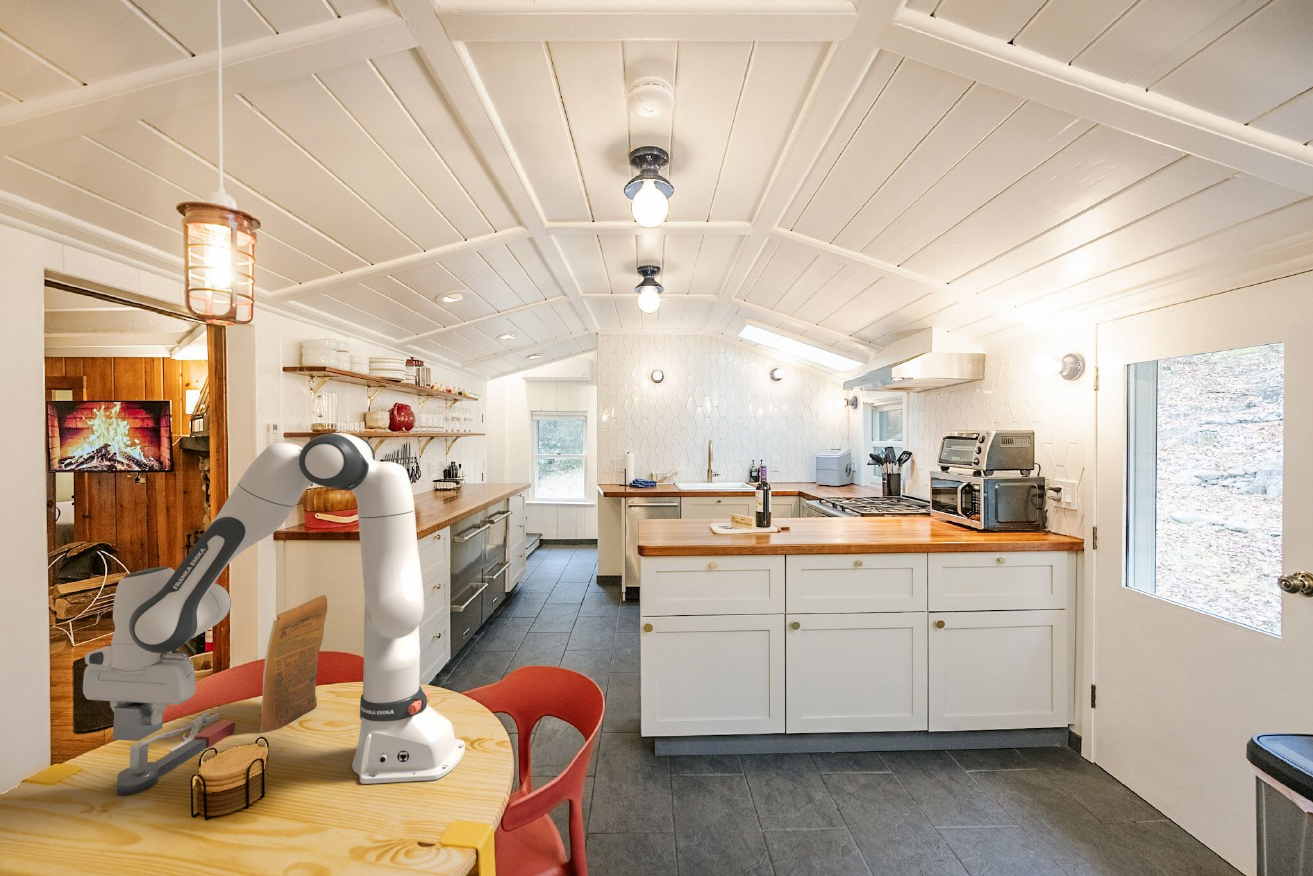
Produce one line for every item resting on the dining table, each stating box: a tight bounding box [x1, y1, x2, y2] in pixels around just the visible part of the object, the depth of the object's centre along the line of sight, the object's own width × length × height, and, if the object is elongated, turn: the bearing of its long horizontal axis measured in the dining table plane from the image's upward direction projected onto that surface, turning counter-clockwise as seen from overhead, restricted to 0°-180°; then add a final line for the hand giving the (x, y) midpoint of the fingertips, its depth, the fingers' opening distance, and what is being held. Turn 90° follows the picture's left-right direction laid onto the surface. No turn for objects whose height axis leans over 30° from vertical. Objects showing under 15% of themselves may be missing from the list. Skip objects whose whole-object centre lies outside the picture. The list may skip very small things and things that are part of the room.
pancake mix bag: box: [259, 594, 328, 733], centre depth 137 cm, size 7×19×28 cm, turn 169°
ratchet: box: [116, 720, 236, 797], centre depth 117 cm, size 6×24×8 cm, turn 176°
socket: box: [112, 702, 164, 742], centre depth 108 cm, size 5×5×6 cm
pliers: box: [143, 711, 221, 753], centre depth 128 cm, size 10×2×15 cm
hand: (138, 723), depth 108 cm, fingers closed on socket, 5 cm apart
